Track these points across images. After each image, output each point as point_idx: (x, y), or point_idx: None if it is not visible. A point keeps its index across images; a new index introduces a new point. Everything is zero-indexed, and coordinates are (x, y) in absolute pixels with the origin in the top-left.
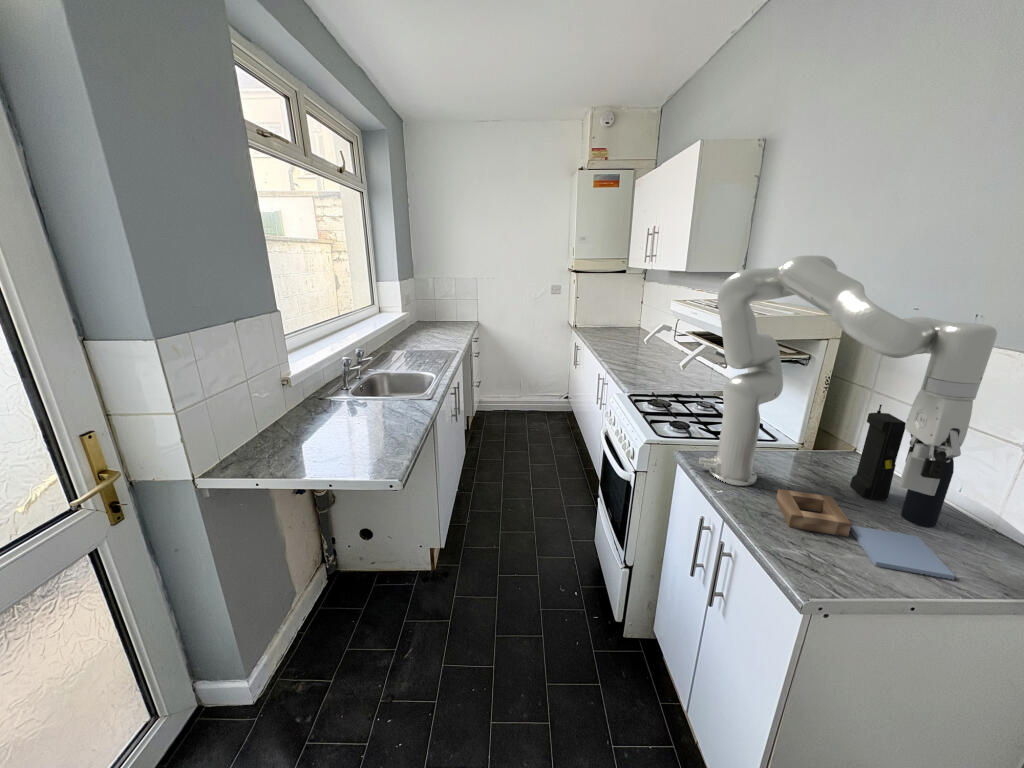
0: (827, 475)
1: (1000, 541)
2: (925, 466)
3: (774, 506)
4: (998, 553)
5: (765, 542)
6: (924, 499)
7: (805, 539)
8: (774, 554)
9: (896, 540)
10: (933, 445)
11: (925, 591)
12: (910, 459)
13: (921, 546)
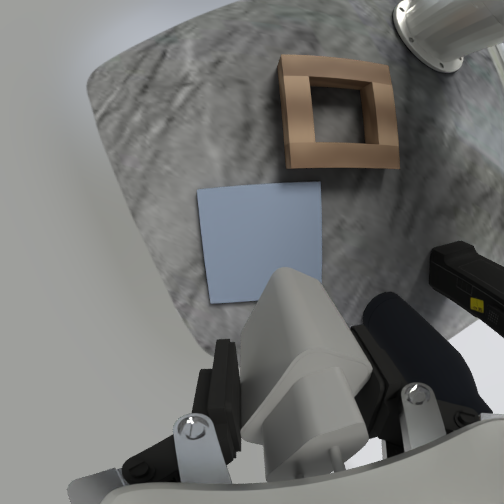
0: (483, 215)
1: None
2: (211, 376)
3: None
4: None
5: (201, 26)
6: (389, 333)
7: (240, 86)
8: (168, 37)
9: (292, 252)
10: (107, 494)
11: (158, 246)
12: (295, 343)
13: None
